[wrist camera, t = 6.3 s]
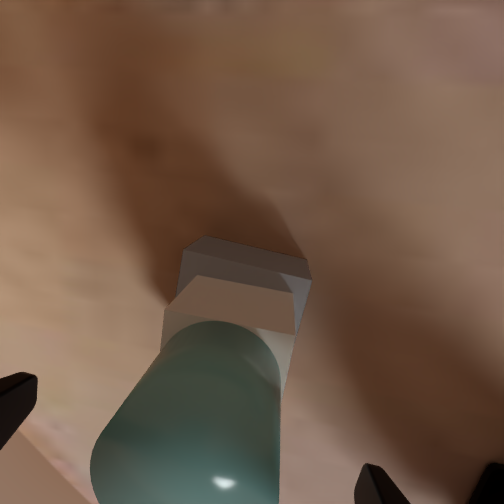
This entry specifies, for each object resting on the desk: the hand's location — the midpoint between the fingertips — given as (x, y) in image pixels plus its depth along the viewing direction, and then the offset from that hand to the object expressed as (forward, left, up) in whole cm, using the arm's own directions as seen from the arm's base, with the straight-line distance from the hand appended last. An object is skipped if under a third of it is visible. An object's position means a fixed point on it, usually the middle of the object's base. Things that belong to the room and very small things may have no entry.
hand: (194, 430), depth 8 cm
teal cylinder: (0, 0, -3) cm, 3 cm away
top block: (0, 0, -7) cm, 7 cm away
